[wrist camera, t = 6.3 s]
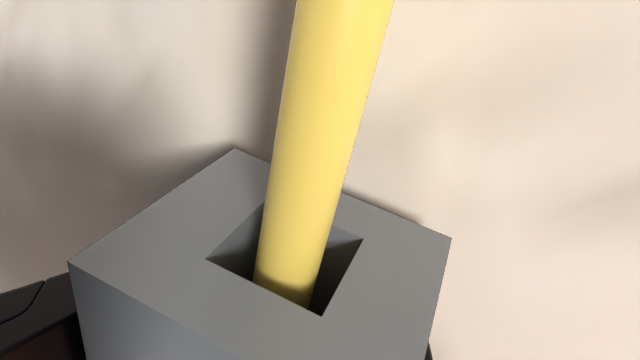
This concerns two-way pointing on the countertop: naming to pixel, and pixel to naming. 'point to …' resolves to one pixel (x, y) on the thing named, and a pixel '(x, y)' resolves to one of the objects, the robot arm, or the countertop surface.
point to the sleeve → (237, 275)
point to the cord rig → (316, 136)
